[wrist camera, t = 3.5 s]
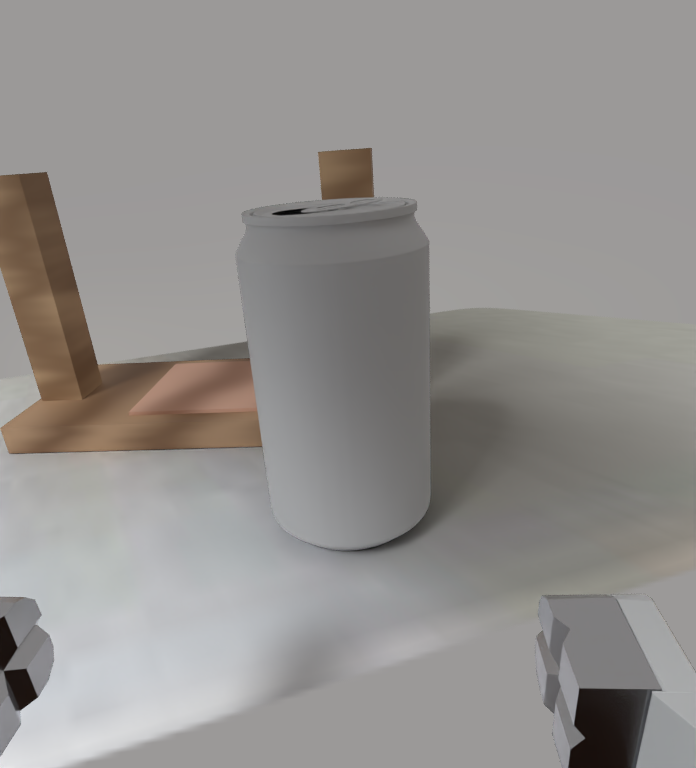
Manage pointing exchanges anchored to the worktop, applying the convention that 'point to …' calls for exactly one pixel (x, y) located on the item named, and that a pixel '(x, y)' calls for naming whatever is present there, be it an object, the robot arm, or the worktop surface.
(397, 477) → the beverage can
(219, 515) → the worktop surface
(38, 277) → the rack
